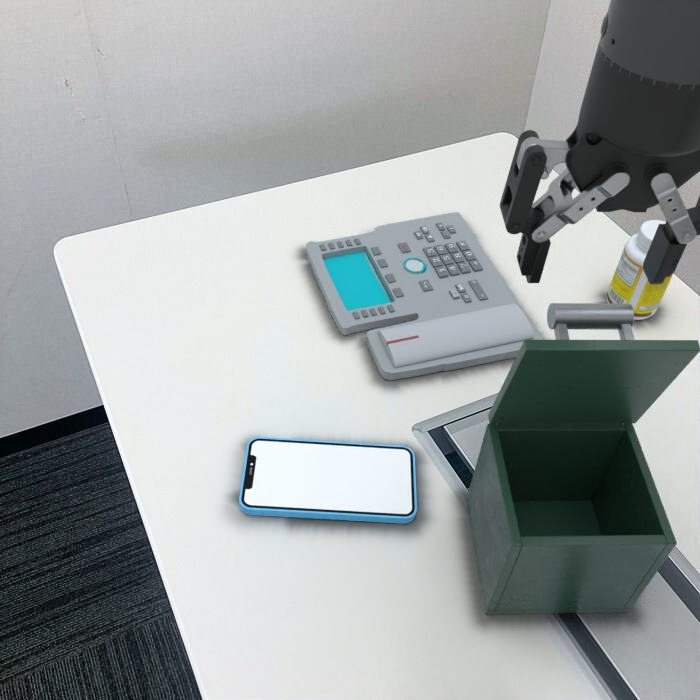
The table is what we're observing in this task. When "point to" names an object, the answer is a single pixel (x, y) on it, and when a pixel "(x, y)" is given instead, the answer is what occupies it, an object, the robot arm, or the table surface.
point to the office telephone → (421, 296)
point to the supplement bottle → (637, 275)
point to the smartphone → (329, 480)
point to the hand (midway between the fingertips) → (591, 276)
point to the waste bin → (565, 519)
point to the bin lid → (589, 371)
